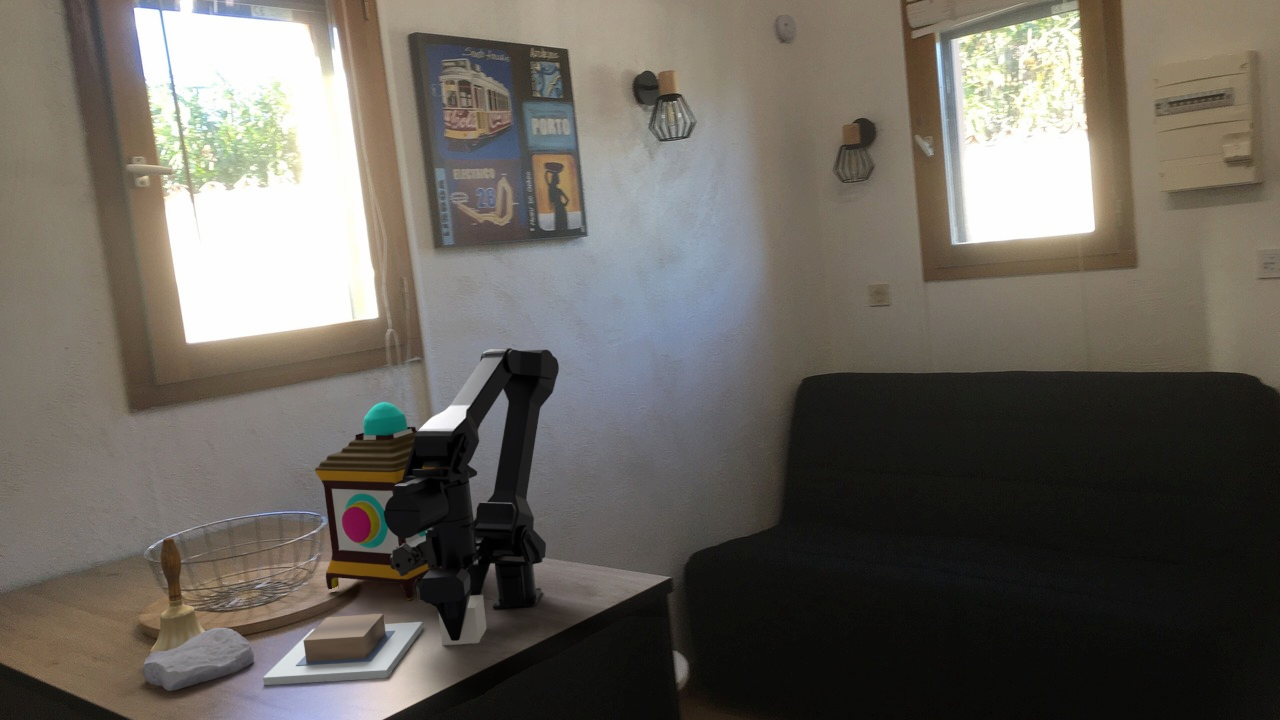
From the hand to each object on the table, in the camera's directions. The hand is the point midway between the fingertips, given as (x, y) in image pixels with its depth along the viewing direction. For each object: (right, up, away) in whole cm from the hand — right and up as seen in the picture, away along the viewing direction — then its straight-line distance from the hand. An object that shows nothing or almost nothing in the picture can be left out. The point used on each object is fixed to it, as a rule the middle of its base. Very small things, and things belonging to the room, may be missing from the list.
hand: (463, 627), depth 132 cm
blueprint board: (-15, -3, -3) cm, 16 cm away
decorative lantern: (-15, 0, +28) cm, 32 cm away
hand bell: (-41, -5, +6) cm, 42 cm away
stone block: (-34, -5, -4) cm, 35 cm away
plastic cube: (0, -2, 0) cm, 2 cm away
